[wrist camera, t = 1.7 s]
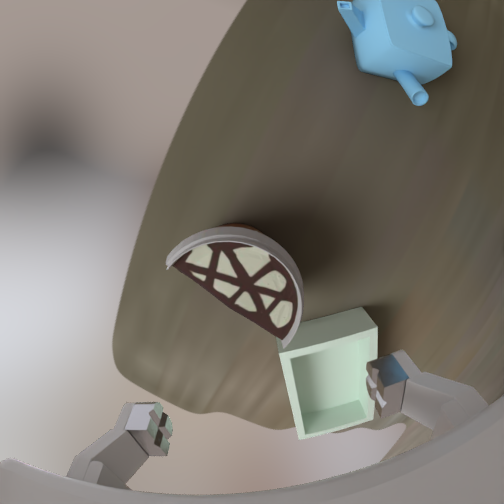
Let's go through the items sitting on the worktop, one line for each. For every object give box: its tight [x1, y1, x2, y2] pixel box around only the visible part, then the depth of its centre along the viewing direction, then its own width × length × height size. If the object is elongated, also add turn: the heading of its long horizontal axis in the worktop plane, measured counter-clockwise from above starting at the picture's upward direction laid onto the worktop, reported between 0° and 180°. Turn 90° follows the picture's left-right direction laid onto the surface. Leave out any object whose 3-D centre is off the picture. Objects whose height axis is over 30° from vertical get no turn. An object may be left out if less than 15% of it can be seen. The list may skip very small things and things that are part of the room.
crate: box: [276, 307, 378, 440], centre depth 33 cm, size 11×17×5 cm, turn 13°
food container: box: [166, 223, 304, 348], centre depth 25 cm, size 12×6×10 cm, turn 52°
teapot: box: [337, 0, 457, 106], centre depth 19 cm, size 18×14×10 cm
